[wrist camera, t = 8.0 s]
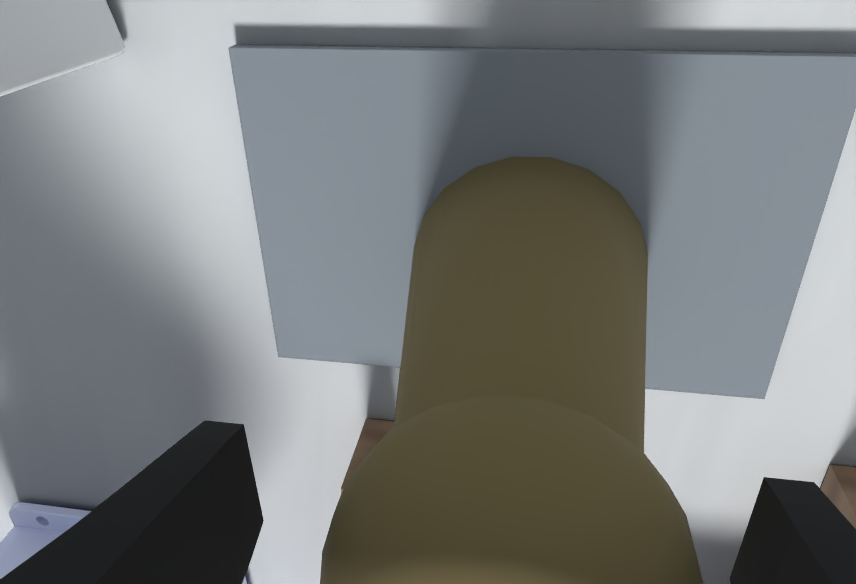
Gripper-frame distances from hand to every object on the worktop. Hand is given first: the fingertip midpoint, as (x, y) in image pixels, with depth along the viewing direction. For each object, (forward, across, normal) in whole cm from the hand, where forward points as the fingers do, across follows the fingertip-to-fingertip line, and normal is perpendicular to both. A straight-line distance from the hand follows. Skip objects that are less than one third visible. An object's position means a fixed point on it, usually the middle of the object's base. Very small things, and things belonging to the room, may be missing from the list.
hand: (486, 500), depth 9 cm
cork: (+9, 0, +1) cm, 9 cm away
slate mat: (+9, 0, 0) cm, 9 cm away
